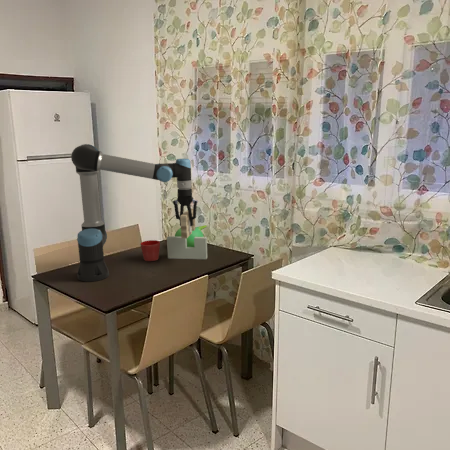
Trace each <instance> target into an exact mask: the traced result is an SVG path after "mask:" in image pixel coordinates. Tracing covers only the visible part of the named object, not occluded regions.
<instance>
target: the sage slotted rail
mask: <svg viewBox="0 0 450 450" xmlns="http://www.w3.org/2000/svg"><path fill="white" fill-rule="evenodd" d="M166 245H167V246H166V247H167V259H177V260H178V259H180V260H185V259H186V260H188V259H189V260H207V259H208V238H207V236H204V237H195V238H194V247H187V238H181V237H179V236H175V235H174V236H173V235H172V236H170V235H168V236H167V237H166Z"/></svg>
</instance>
